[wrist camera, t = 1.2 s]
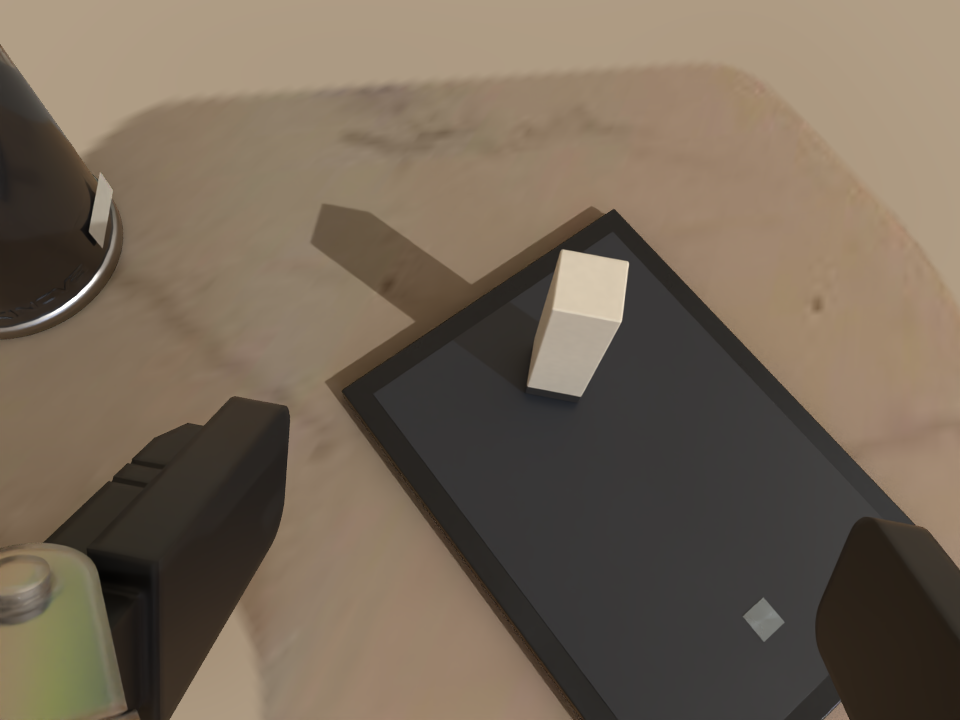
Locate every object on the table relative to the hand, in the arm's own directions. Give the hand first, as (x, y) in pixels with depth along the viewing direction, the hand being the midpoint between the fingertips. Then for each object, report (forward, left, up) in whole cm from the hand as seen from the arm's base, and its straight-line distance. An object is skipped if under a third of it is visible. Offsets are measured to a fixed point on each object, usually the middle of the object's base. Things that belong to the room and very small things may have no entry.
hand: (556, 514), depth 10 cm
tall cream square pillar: (-6, +9, -20) cm, 23 cm away
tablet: (0, +9, -21) cm, 23 cm away
